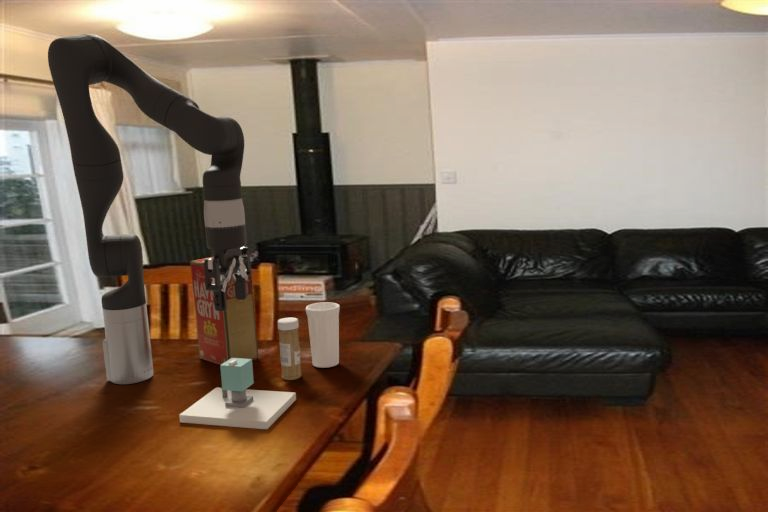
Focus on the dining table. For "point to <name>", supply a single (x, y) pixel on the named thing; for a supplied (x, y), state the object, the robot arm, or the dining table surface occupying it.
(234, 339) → the food packaging
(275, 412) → the stud board
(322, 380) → the dining table surface
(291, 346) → the sprinkles bottle
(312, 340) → the cup
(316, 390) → the dining table surface
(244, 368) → the mint cube with tab
